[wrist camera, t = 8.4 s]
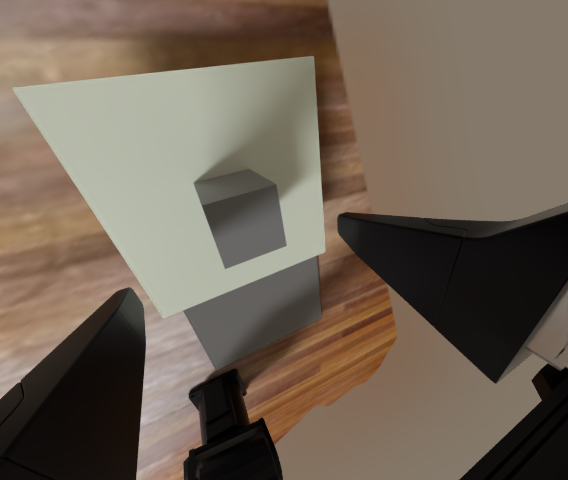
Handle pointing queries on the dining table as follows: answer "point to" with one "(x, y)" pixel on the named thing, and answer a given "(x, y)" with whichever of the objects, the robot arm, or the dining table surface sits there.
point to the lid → (194, 170)
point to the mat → (257, 313)
